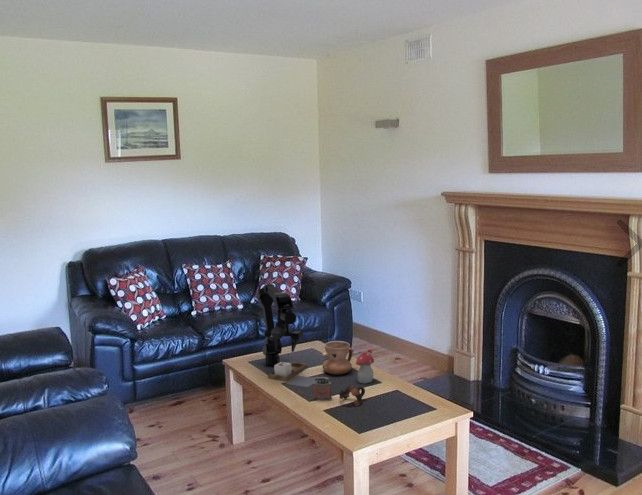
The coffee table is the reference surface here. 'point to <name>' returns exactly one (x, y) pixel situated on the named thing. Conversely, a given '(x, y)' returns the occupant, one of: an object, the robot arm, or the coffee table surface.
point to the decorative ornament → (365, 367)
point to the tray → (296, 370)
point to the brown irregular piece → (354, 392)
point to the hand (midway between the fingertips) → (284, 351)
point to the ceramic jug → (337, 357)
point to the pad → (302, 381)
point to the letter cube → (283, 369)
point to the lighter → (322, 389)
